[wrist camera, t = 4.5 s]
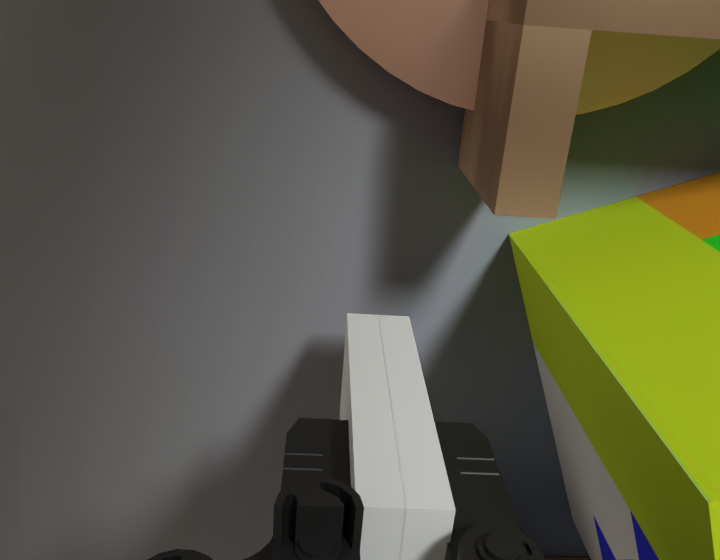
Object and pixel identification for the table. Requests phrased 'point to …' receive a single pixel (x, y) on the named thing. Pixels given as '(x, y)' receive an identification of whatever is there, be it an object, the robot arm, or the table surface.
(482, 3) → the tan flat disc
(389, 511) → the robot arm
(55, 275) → the table surface
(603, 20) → the pocket frame
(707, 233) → the puzzle toy
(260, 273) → the table surface
